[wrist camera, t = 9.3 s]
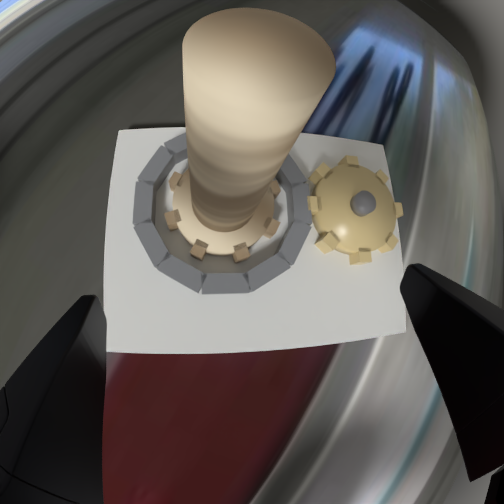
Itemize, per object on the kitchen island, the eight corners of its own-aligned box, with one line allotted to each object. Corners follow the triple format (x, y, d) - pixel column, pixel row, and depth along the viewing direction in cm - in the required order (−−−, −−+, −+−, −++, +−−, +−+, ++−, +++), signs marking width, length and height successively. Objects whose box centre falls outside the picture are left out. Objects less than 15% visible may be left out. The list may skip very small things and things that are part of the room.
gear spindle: (249, 284, 19) (356, 237, 6) (146, 233, 19) (54, 99, 5) (292, 188, 21) (403, 50, 7) (199, 143, 20) (209, -30, 7)
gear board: (397, 331, 22) (426, 333, 18) (111, 348, 18) (93, 357, 14) (376, 150, 24) (397, 131, 21) (122, 138, 21) (111, 112, 17)
